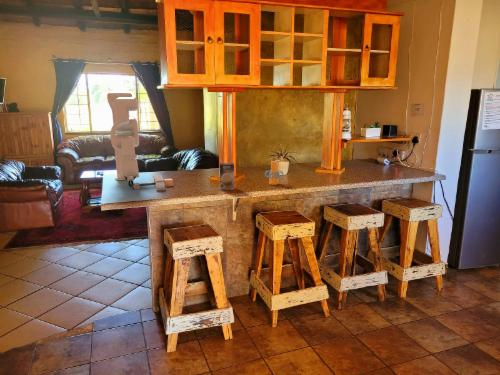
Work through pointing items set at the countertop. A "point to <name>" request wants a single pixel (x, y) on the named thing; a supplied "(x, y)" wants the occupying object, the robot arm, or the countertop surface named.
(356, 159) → the countertop surface
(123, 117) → the robot arm
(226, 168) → the coffee box
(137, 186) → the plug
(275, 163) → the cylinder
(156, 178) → the motor housing
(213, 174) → the countertop surface
